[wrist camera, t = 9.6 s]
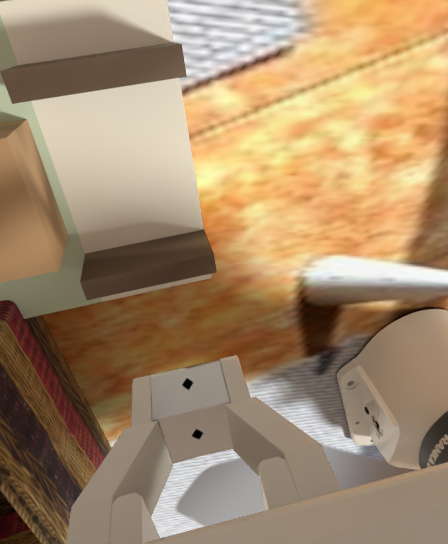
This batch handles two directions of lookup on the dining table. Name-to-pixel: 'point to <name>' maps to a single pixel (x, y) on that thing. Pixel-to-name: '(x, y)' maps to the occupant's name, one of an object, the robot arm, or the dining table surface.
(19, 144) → the tan square block
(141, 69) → the dark brown bars
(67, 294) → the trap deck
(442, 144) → the dining table surface
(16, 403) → the basket
